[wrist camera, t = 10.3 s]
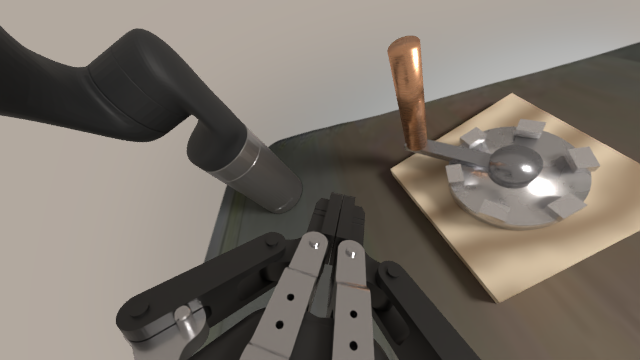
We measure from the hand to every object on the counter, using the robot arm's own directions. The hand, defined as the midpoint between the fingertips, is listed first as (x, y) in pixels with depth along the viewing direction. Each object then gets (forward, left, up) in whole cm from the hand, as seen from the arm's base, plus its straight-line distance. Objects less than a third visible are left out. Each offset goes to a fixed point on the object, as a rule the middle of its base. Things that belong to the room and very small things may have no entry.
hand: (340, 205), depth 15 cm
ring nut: (-5, +17, -22) cm, 28 cm away
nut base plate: (-2, +19, -24) cm, 31 cm away
